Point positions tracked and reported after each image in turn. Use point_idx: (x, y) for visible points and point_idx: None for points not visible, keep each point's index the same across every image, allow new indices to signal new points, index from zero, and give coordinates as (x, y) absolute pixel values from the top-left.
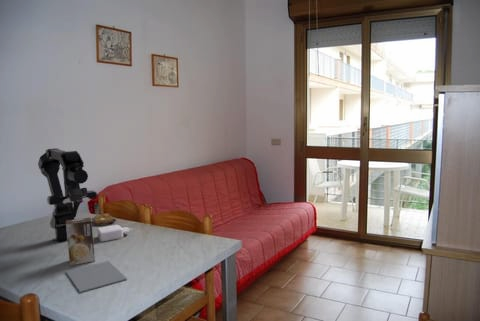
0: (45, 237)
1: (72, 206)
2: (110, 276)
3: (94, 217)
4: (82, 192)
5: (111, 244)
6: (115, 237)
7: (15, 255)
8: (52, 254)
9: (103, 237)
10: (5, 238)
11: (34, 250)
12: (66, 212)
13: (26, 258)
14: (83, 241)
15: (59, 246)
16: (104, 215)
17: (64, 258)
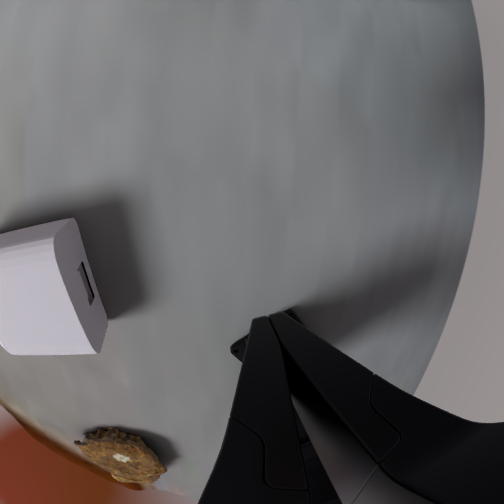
0: None
1: (391, 457)
2: None
3: (156, 473)
4: None
5: (28, 147)
6: (7, 233)
7: (455, 216)
8: (354, 129)
9: (54, 226)
10: (415, 388)
11: (404, 243)
12: (306, 459)
13: (439, 150)
14: None
15: (309, 249)
16: (121, 473)
17: (302, 24)
